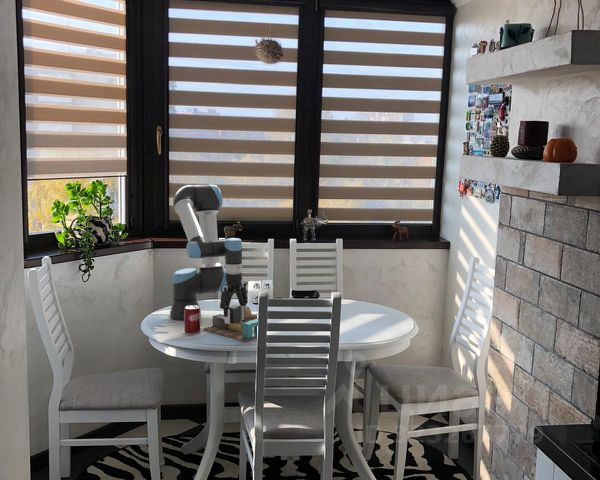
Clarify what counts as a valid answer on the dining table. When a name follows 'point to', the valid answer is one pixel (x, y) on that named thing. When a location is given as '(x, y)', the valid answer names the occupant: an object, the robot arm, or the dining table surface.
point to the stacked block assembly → (246, 326)
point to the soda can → (192, 319)
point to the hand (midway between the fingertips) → (234, 321)
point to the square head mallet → (235, 318)
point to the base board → (229, 333)
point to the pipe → (249, 314)
